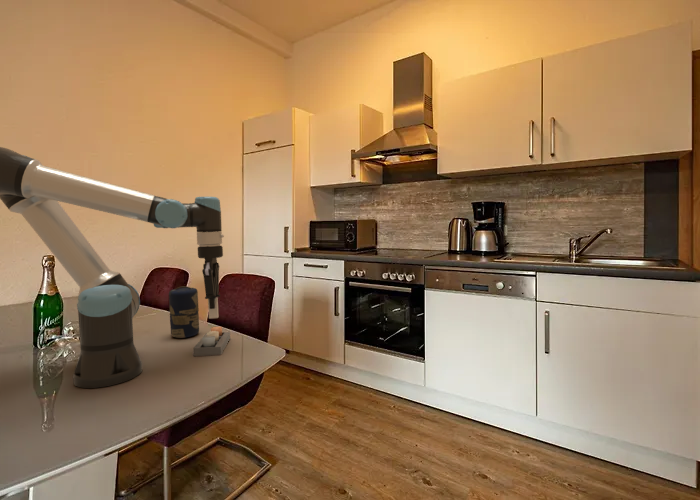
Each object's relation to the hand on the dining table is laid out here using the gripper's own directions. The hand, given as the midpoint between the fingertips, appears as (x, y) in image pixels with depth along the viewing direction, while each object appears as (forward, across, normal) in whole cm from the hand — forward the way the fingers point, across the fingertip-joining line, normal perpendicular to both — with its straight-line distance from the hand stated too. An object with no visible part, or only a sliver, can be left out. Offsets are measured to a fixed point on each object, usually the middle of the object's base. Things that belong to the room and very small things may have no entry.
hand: (213, 317), depth 119 cm
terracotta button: (+7, +5, +1) cm, 9 cm away
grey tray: (+10, 0, +1) cm, 10 cm away
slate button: (+7, -6, +1) cm, 9 cm away
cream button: (+7, 0, +1) cm, 7 cm away
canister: (+10, +15, +14) cm, 22 cm away
